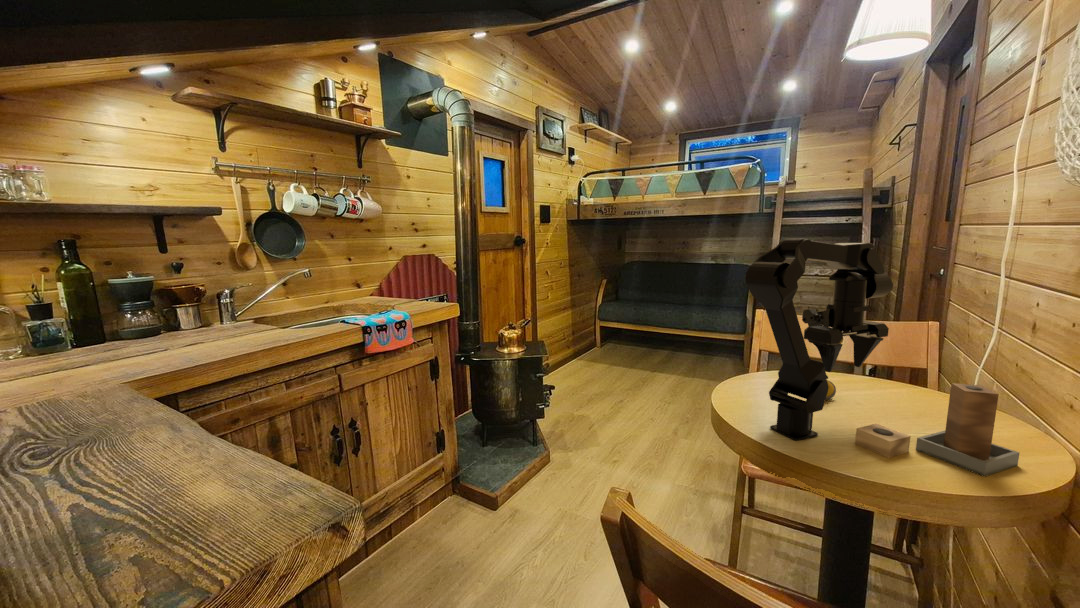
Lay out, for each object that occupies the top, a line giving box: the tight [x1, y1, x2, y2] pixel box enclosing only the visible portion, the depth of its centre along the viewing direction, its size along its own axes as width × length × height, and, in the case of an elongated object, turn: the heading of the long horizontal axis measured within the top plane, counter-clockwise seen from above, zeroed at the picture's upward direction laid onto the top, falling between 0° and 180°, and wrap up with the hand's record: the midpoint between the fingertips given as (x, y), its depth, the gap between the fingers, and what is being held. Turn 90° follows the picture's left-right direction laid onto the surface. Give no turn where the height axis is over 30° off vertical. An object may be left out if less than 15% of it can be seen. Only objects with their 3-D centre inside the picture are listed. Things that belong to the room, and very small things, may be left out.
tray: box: [915, 430, 1020, 477], centre depth 77 cm, size 10×10×2 cm
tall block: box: [943, 382, 999, 461], centre depth 76 cm, size 4×4×13 cm
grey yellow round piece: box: [825, 379, 837, 401], centre depth 106 cm, size 5×5×10 cm
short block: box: [854, 423, 912, 459], centre depth 81 cm, size 6×6×4 cm
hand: (842, 369), depth 93 cm, fingers open, 9 cm apart
